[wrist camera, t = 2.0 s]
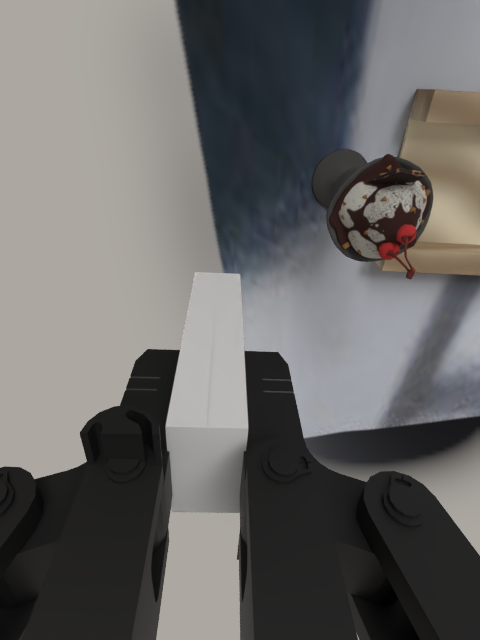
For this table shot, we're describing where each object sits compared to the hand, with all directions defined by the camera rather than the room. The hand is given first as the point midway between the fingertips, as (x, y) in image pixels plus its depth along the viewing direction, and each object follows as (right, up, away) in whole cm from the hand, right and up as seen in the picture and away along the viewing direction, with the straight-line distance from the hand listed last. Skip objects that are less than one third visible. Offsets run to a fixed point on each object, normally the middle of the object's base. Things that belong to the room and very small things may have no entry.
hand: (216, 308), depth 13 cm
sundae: (+10, +12, +19) cm, 24 cm away
